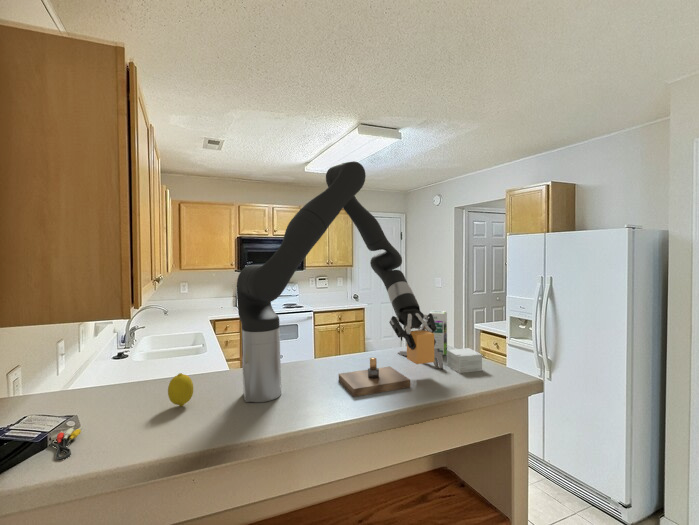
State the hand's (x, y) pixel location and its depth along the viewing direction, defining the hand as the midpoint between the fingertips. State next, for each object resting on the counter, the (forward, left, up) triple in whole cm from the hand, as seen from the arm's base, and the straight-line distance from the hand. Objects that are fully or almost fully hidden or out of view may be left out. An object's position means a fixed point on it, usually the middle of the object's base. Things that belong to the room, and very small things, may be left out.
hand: (423, 346), depth 102 cm
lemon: (-63, +7, -9) cm, 64 cm away
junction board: (-15, +2, -9) cm, 17 cm away
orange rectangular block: (0, +2, -4) cm, 5 cm away
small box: (+16, +3, -9) cm, 19 cm away
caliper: (+7, +15, -9) cm, 19 cm away
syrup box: (+18, +20, -9) cm, 28 cm away
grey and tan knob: (-15, +2, -7) cm, 16 cm away
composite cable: (-82, -5, -10) cm, 83 cm away
